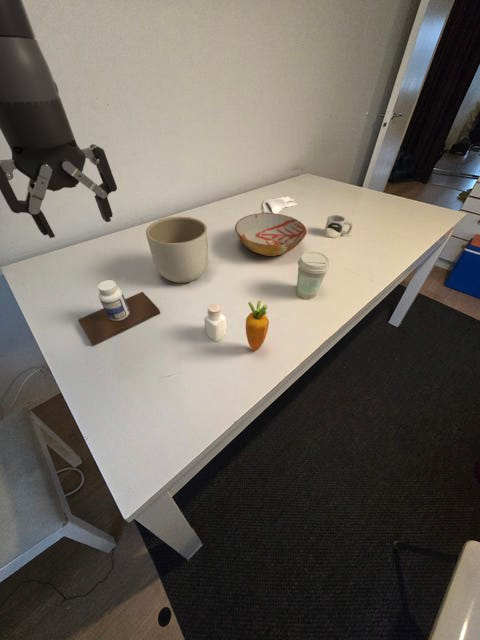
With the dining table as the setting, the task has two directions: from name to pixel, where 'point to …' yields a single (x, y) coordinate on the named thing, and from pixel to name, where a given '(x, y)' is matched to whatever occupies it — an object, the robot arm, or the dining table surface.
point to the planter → (179, 248)
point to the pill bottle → (113, 300)
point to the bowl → (270, 233)
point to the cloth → (277, 204)
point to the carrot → (256, 326)
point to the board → (104, 328)
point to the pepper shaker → (215, 322)
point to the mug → (336, 226)
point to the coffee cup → (311, 273)
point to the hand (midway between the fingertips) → (80, 227)
